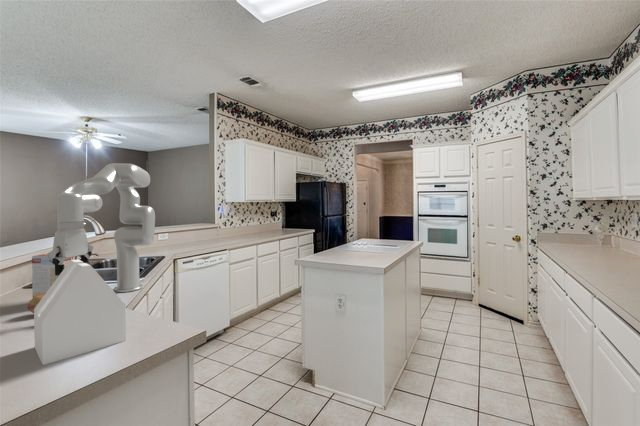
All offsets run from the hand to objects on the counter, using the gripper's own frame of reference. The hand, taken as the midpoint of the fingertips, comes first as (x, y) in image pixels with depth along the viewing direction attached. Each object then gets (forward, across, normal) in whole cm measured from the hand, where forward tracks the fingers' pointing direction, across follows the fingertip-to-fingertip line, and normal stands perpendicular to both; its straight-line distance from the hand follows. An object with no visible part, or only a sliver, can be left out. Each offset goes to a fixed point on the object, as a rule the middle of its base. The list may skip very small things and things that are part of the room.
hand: (72, 272), depth 113 cm
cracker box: (+18, -15, -26) cm, 35 cm away
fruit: (+18, -2, -16) cm, 24 cm away
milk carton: (+17, +19, +22) cm, 34 cm away
